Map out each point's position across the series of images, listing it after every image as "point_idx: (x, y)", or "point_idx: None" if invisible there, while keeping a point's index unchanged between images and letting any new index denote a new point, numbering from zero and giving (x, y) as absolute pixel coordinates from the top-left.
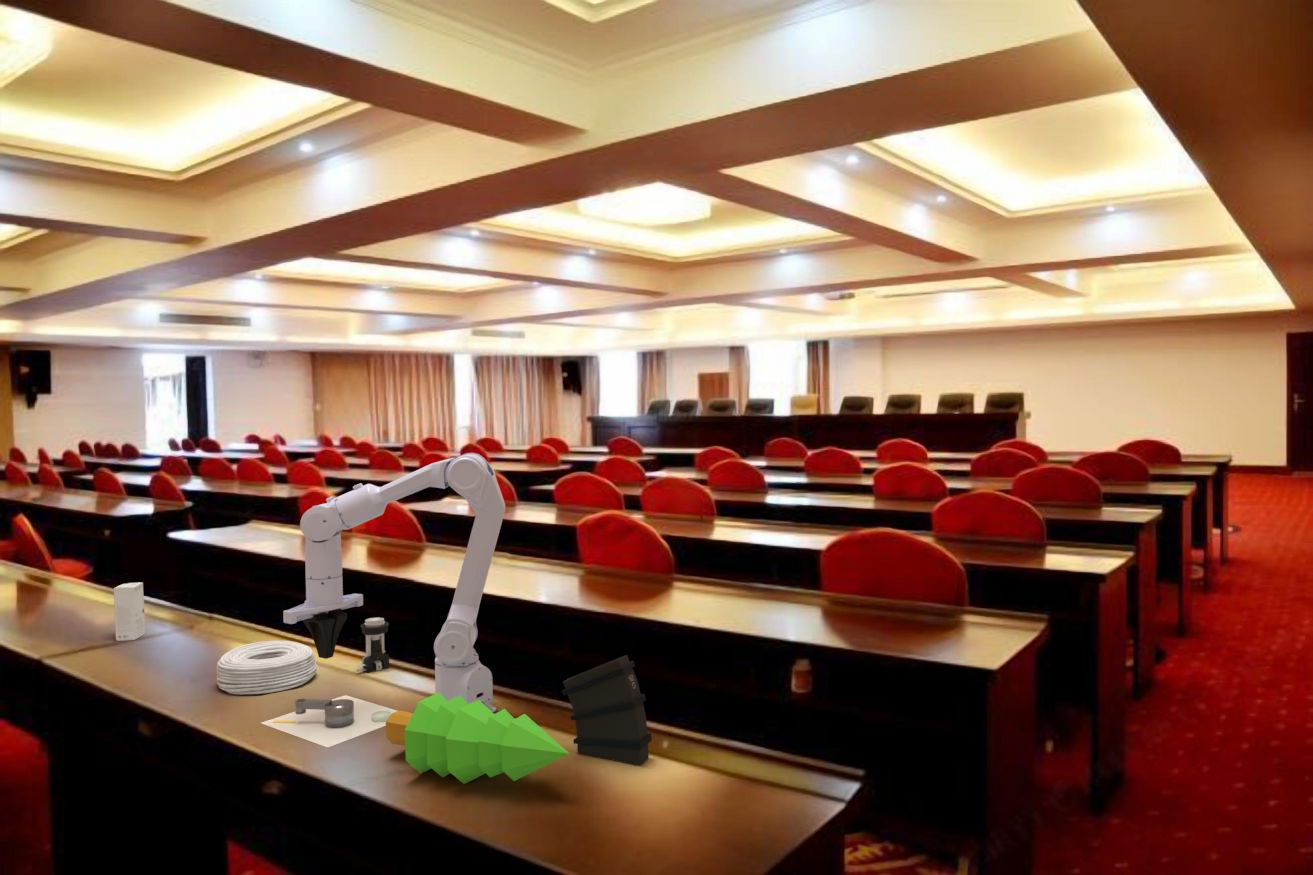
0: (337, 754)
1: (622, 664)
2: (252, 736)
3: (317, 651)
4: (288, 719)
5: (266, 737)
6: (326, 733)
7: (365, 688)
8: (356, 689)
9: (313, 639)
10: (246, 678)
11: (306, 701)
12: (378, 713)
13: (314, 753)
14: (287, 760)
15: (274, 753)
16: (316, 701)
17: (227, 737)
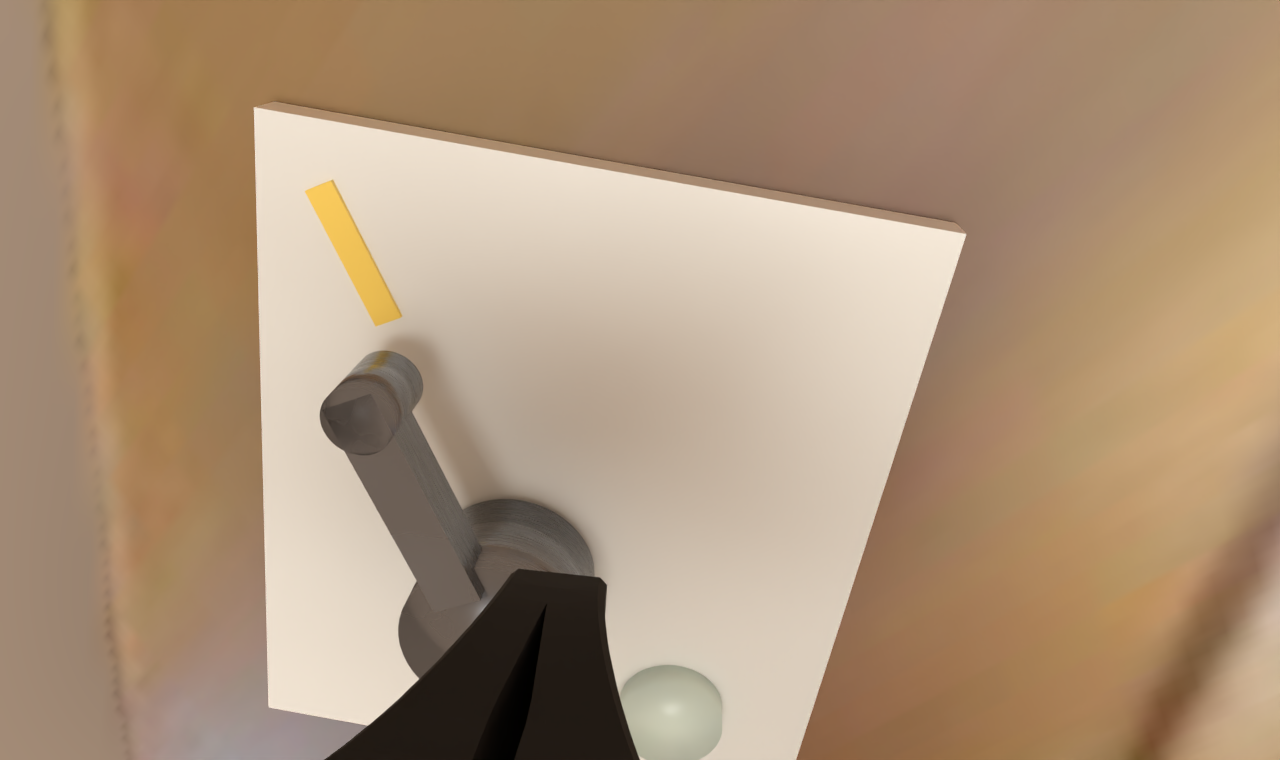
0: (305, 718)
1: None
2: (176, 164)
3: (491, 602)
4: (401, 240)
5: (221, 260)
6: (378, 596)
7: (1272, 151)
8: (1232, 98)
9: (406, 692)
10: None
11: (365, 476)
12: (671, 708)
13: (251, 631)
14: (129, 583)
15: (131, 473)
16: (403, 534)
17: (64, 18)
